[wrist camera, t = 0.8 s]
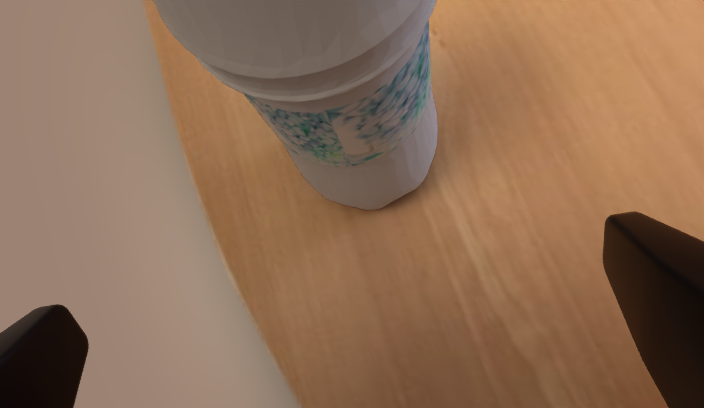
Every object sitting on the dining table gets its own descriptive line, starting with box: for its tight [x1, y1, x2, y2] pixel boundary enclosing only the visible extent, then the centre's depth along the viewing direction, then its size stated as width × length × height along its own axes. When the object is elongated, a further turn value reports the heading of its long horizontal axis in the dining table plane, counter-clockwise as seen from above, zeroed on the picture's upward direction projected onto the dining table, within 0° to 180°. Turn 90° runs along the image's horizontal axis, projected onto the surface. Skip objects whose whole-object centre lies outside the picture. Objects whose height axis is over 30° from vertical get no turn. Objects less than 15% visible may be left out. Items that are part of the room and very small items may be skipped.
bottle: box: [153, 0, 438, 210], centre depth 15 cm, size 7×7×20 cm
